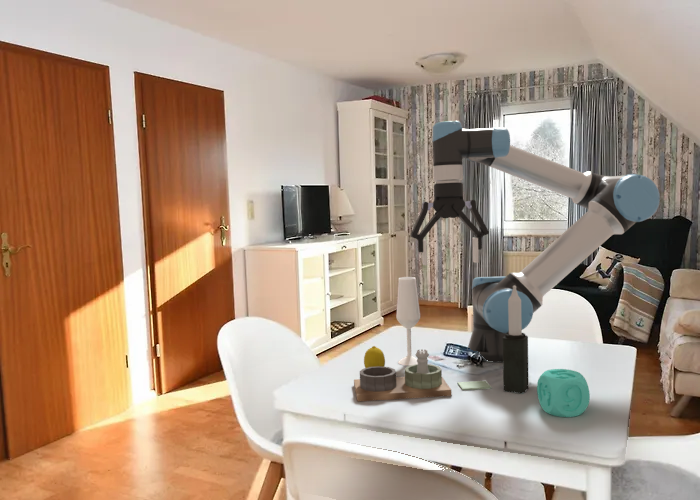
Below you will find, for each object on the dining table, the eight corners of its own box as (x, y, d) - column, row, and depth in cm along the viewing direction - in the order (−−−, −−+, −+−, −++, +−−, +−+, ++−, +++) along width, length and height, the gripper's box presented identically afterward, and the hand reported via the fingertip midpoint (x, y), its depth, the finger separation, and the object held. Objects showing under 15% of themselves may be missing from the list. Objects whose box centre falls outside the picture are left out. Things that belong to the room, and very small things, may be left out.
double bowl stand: (440, 380, 150) (440, 361, 150) (451, 396, 138) (451, 375, 138) (354, 385, 149) (353, 365, 149) (357, 401, 137) (356, 380, 137)
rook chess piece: (433, 380, 146) (432, 348, 145) (431, 386, 141) (430, 353, 141) (415, 379, 147) (414, 348, 146) (412, 385, 143) (411, 352, 142)
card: (485, 382, 148) (485, 380, 147) (491, 388, 143) (491, 387, 143) (457, 383, 147) (457, 382, 147) (462, 390, 142) (462, 388, 142)
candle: (523, 394, 138) (522, 287, 136) (502, 391, 141) (500, 286, 138) (529, 387, 142) (528, 284, 140) (508, 384, 145) (507, 283, 143)
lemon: (383, 379, 153) (382, 348, 153) (362, 378, 154) (361, 348, 154) (386, 373, 159) (385, 343, 158) (366, 372, 160) (365, 343, 159)
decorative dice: (571, 402, 131) (571, 367, 130) (590, 415, 123) (590, 378, 123) (536, 405, 130) (536, 370, 129) (553, 419, 122) (553, 381, 122)
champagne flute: (405, 366, 164) (402, 280, 162) (393, 361, 170) (390, 277, 168) (426, 363, 166) (423, 278, 164) (413, 357, 172) (411, 275, 170)
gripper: (491, 180, 159) (492, 259, 161) (398, 184, 157) (401, 264, 159) (499, 180, 151) (501, 262, 153) (402, 183, 150) (405, 267, 152)
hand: (450, 263), depth 156 cm, fingers open, 13 cm apart
